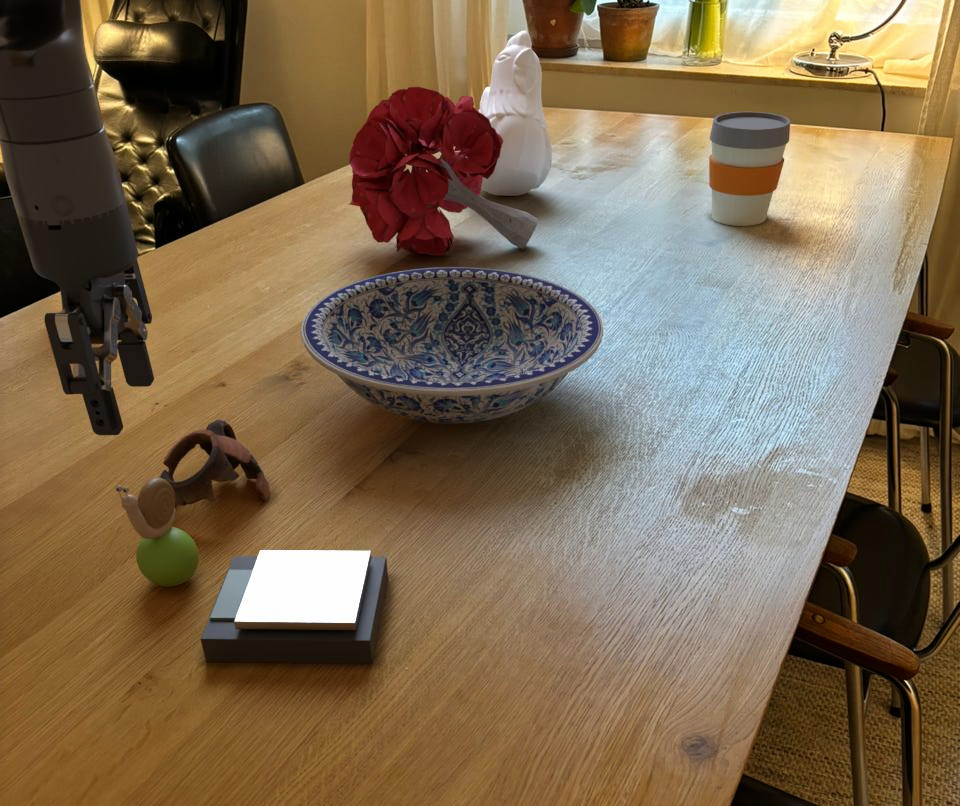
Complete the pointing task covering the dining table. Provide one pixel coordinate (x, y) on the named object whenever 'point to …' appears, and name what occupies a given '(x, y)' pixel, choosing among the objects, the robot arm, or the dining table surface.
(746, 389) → the dining table surface
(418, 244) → the bouquet
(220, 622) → the scale
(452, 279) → the ceramic bowl
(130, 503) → the snail figurine
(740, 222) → the reusable coffee cup
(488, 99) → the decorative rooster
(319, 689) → the dining table surface
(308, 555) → the scale platter
